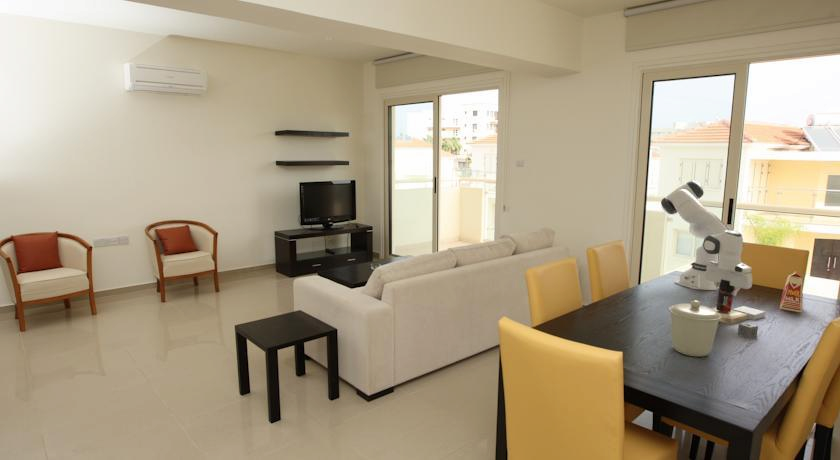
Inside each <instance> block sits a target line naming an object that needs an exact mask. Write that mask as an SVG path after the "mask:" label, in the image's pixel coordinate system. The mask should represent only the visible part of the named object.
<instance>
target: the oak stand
mask: <svg viewBox="0 0 840 460" xmlns="http://www.w3.org/2000/svg"><path fill="white" fill-rule="evenodd" d="M710 308H711V309H714V310H715V311H717V312H718V313H719V314H721V319H719V322H722V323H726V324H728V325H734V324H736V323H738V324H739V323H742V322H744V321H747V320H748V314H744V313H741V312H737V311H733V309H731V312H722V311H719V310H717V309H716V308H717V306H714V307H710Z"/></svg>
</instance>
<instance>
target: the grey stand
mask: <svg viewBox="0 0 840 460" xmlns="http://www.w3.org/2000/svg"><path fill="white" fill-rule="evenodd" d="M732 310H733V311H737V312H741V313H744V314H748V318H747V320H748V319H749V320H752V321H756V320H759V319H762V318H765V316H766V311H765V310H760V309H756V308H752V307H750V306H749V307H748V306H745V305H742V306H738V307H735V308H733V309H732Z"/></svg>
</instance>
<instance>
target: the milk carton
mask: <svg viewBox="0 0 840 460" xmlns="http://www.w3.org/2000/svg"><path fill="white" fill-rule="evenodd" d="M803 279H804V277H803V276H801V275H799V274H797V271H794V273H792V274H790V275H787V279H786V281H785V283H784V287H783V291H782V295H781V299H780V304H779V305H780V306H779V309H780V310H785V311H791V312H797V313H803Z"/></svg>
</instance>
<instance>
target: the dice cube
mask: <svg viewBox="0 0 840 460" xmlns="http://www.w3.org/2000/svg"><path fill="white" fill-rule="evenodd" d="M758 329H759V326H758V325H755V324H753V323H750V322H747V321H746V322H739V323H738V328H737V335H738V336H741V337H743V338H746V339H753V338H757V337H758Z"/></svg>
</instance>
